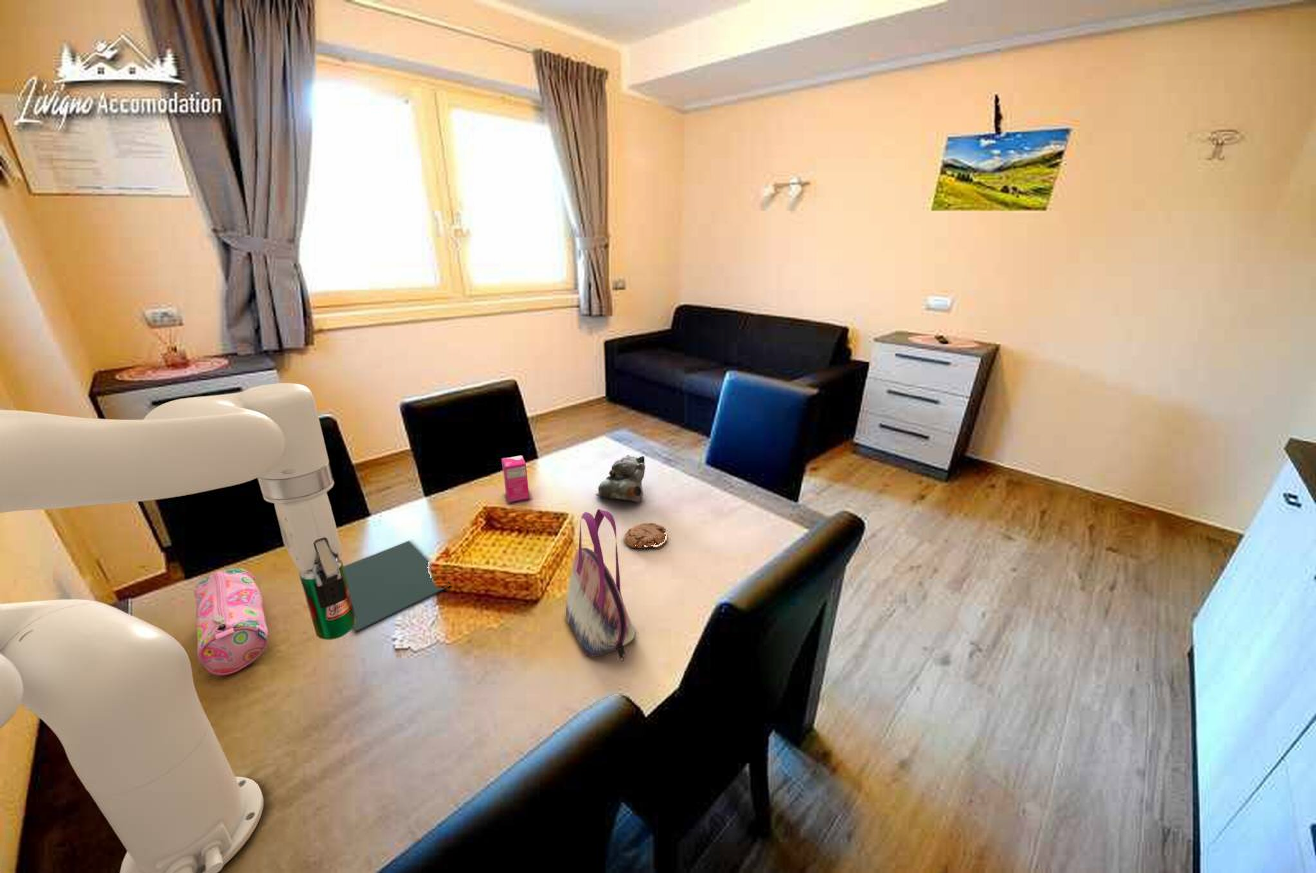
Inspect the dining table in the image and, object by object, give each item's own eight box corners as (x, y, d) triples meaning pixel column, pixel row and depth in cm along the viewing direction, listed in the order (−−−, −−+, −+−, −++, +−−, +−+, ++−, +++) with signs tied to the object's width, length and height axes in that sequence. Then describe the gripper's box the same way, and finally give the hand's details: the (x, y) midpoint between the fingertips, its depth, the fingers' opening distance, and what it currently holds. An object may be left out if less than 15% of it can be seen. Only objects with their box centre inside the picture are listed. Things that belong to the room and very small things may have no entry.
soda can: (338, 645, 68) (319, 576, 64) (308, 638, 69) (287, 570, 65) (365, 620, 73) (349, 554, 69) (336, 614, 74) (319, 549, 70)
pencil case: (275, 659, 82) (261, 618, 79) (204, 689, 76) (185, 646, 73) (263, 593, 97) (250, 556, 93) (203, 614, 91) (187, 575, 88)
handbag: (650, 658, 85) (654, 539, 75) (598, 681, 80) (595, 557, 70) (601, 586, 102) (600, 482, 92) (556, 601, 97) (549, 493, 87)
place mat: (452, 586, 100) (451, 584, 100) (356, 632, 88) (356, 630, 88) (408, 542, 114) (408, 540, 114) (321, 577, 102) (320, 575, 102)
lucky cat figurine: (588, 494, 138) (598, 446, 139) (623, 500, 145) (633, 455, 146) (613, 502, 126) (624, 450, 127) (650, 508, 132) (661, 459, 134)
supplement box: (505, 494, 137) (501, 458, 132) (526, 490, 139) (523, 454, 135) (508, 504, 132) (504, 466, 127) (530, 500, 134) (527, 463, 130)
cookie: (617, 537, 119) (617, 527, 118) (651, 524, 125) (651, 514, 124) (640, 557, 111) (640, 546, 110) (675, 542, 117) (676, 532, 116)
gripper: (247, 467, 65) (281, 577, 71) (277, 514, 54) (313, 639, 61) (312, 452, 70) (338, 556, 77) (351, 493, 59) (377, 609, 66)
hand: (327, 591), depth 69 cm, fingers closed on soda can, 5 cm apart
